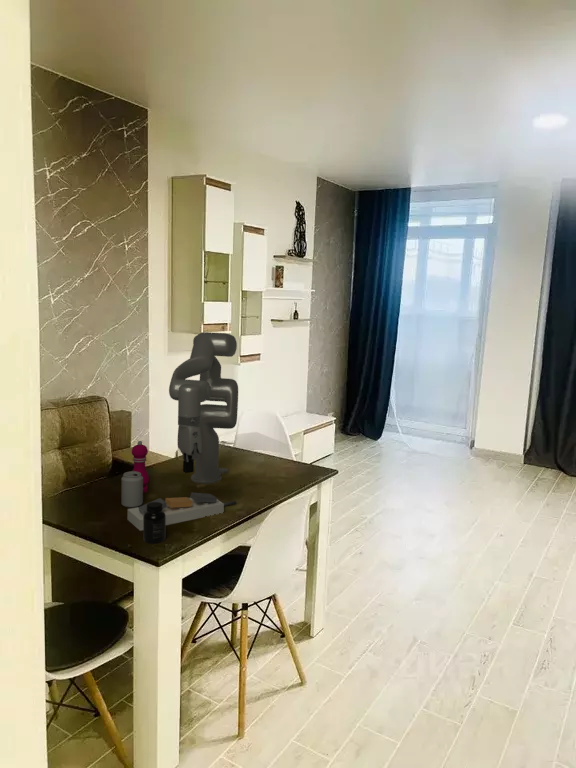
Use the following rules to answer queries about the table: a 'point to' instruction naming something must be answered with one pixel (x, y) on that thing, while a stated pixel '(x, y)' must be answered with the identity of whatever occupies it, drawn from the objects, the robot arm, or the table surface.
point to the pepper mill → (141, 462)
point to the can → (132, 489)
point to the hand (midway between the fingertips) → (188, 471)
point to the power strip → (181, 512)
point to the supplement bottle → (154, 524)
